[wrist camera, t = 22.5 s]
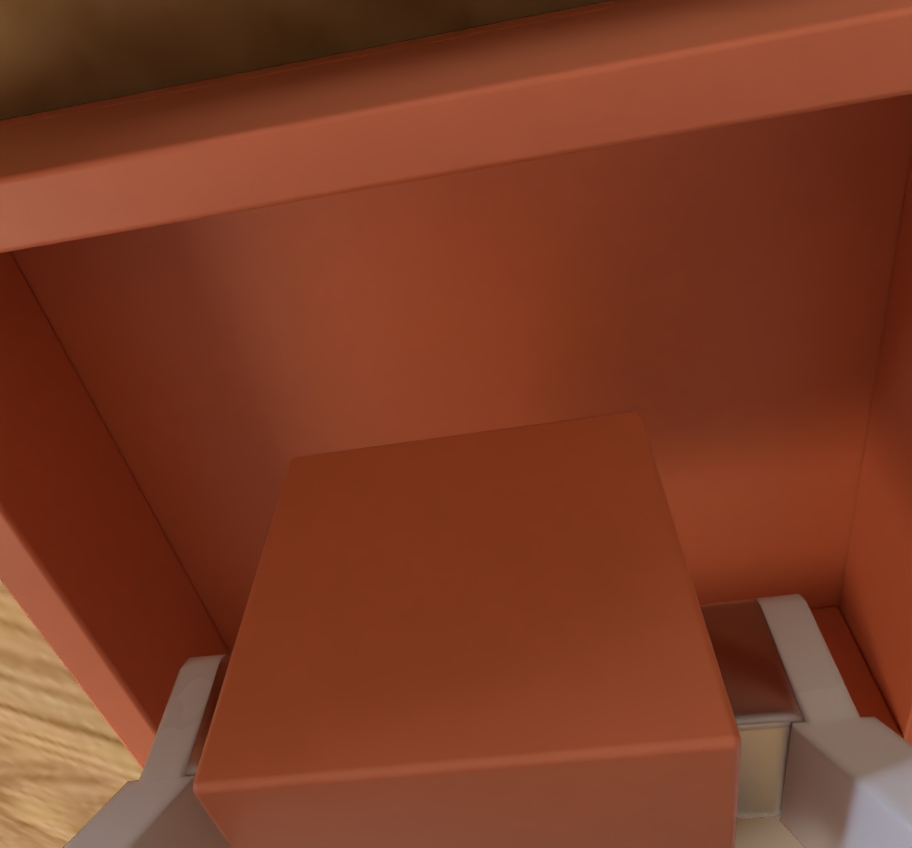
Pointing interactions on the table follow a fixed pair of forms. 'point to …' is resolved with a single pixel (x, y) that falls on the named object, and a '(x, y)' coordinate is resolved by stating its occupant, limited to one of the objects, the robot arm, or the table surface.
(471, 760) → the block
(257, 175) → the terracotta bin
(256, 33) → the table surface
